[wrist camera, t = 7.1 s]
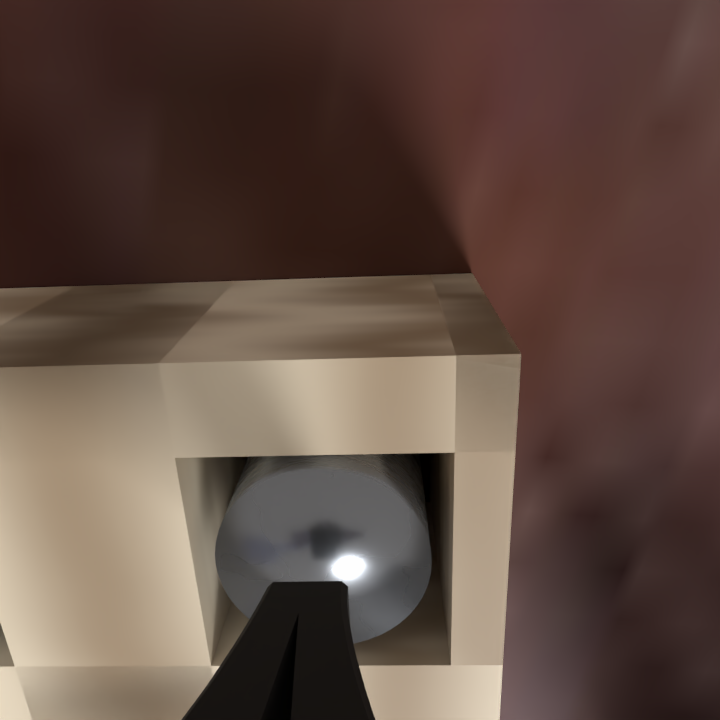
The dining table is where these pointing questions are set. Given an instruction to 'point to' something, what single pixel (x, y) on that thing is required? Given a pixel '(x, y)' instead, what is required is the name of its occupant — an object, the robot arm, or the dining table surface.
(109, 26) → the dining table surface
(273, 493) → the peg
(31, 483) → the block
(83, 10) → the dining table surface
